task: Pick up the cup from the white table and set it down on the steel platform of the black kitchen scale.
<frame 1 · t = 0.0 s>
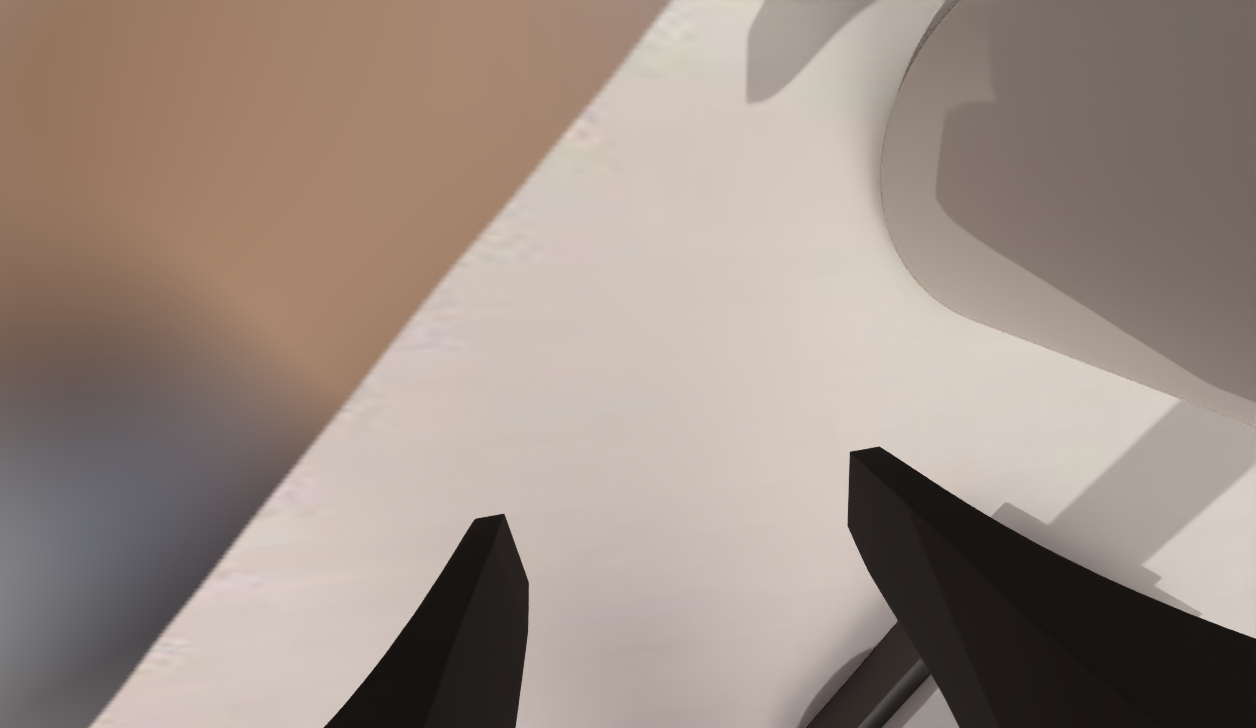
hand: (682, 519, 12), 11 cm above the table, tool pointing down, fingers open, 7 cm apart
cylinder vase: (1040, 151, 20), on the table
scale: (971, 700, 28), on the table
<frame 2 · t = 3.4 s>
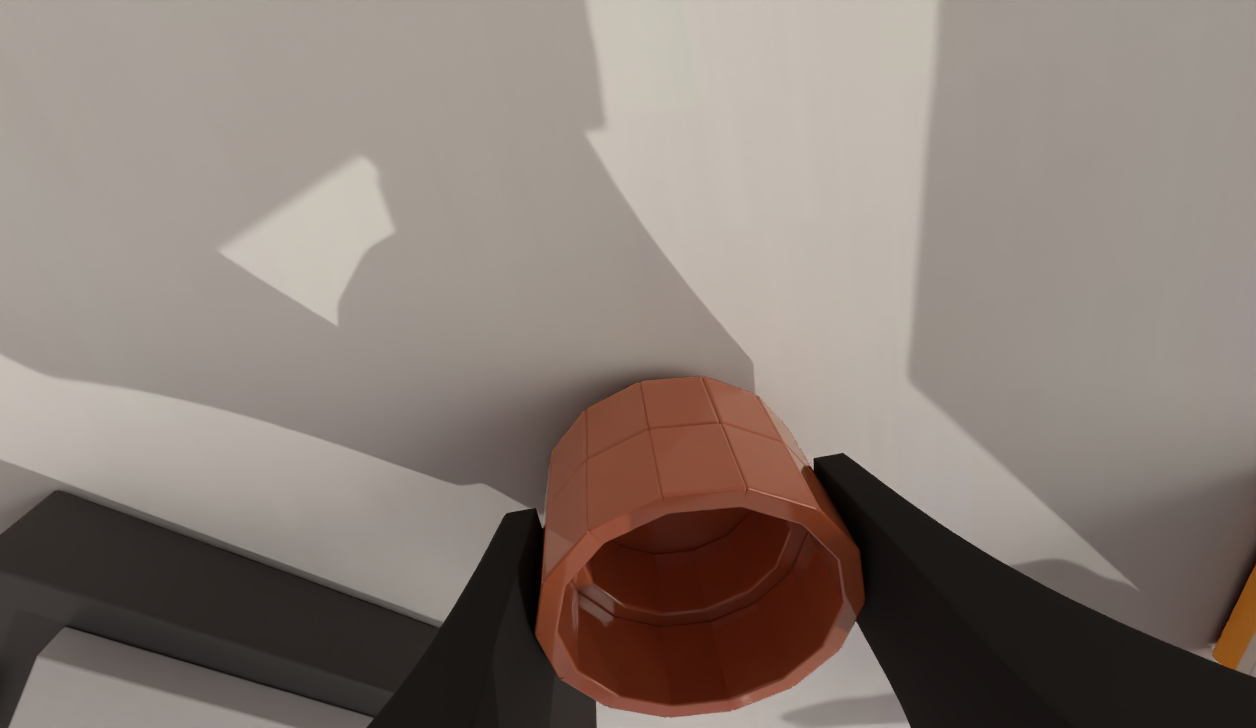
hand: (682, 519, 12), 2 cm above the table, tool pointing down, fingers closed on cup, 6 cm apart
cup: (669, 470, 13), on the table, touching gripper
when the fingers open (4 cm above the table, at t = 7.5 s): cup stays where it is, resting on scale.
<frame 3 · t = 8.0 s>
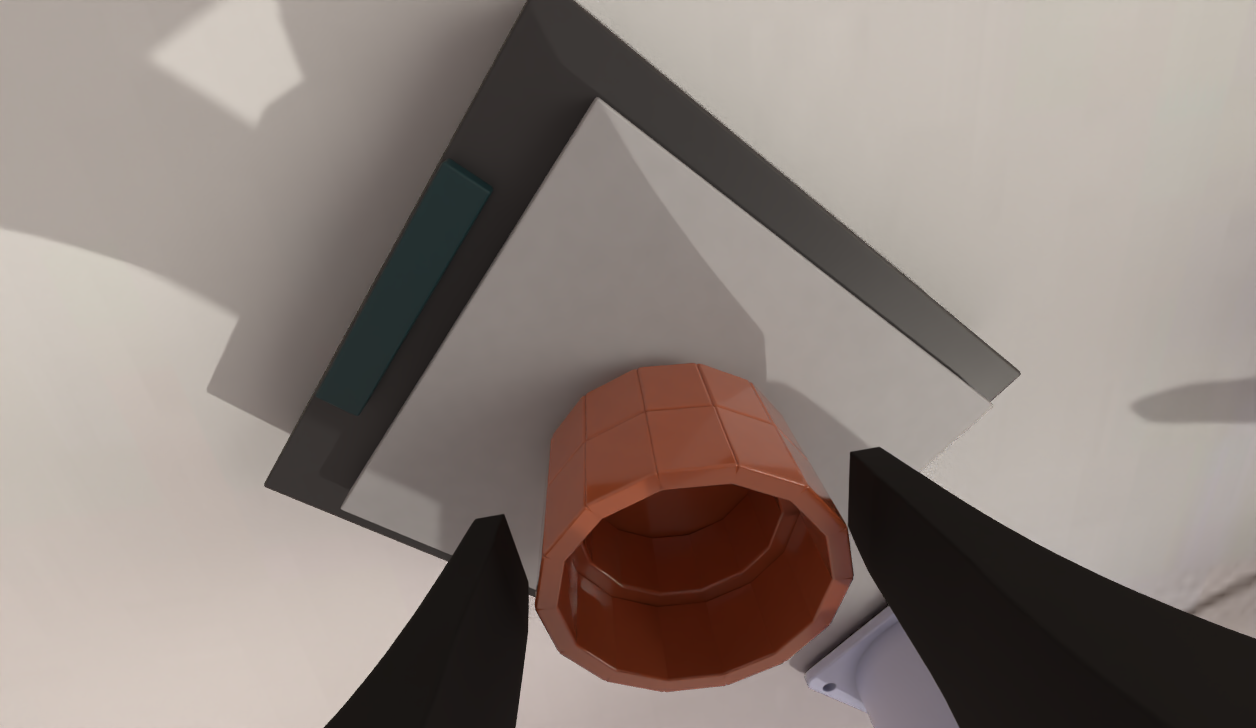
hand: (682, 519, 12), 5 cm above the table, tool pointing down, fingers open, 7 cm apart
cup: (665, 456, 13), point 3 cm above the table, touching scale
scale: (637, 389, 16), on the table
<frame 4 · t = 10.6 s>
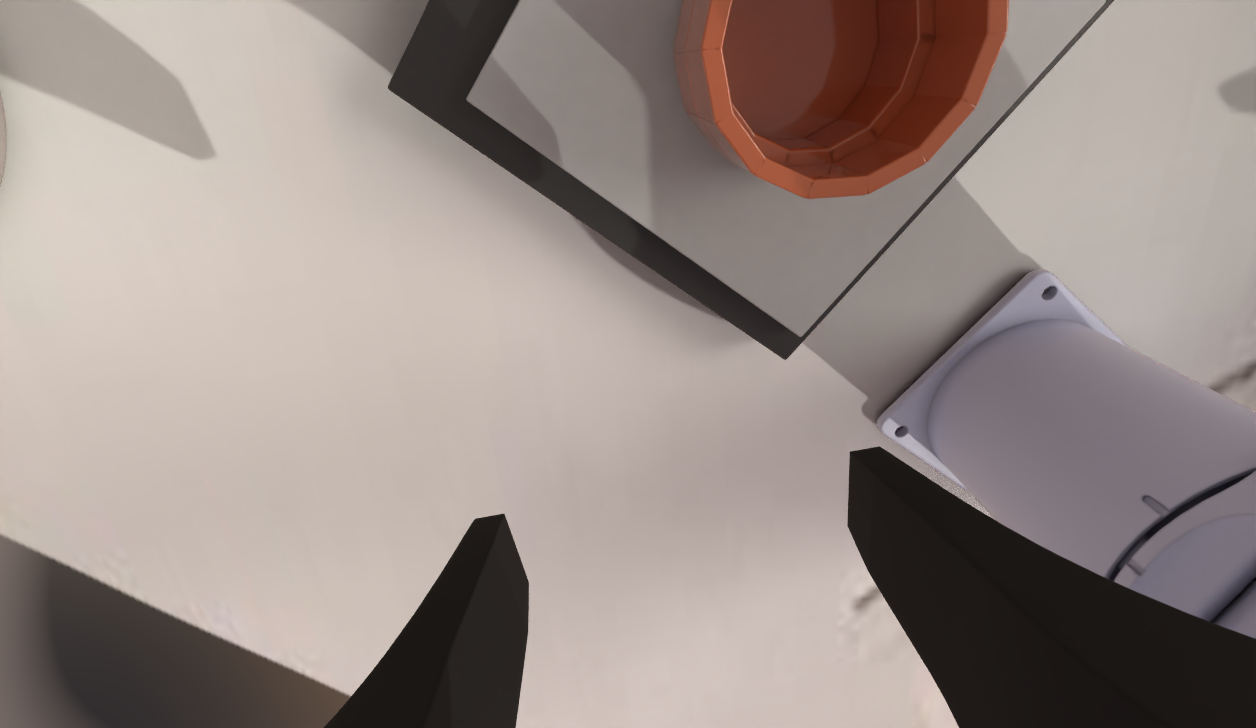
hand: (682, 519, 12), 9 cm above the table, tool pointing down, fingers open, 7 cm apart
cup: (785, 47, 14), point 3 cm above the table, touching scale
scale: (741, 38, 16), on the table
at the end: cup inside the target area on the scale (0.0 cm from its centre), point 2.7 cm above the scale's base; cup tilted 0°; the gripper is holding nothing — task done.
